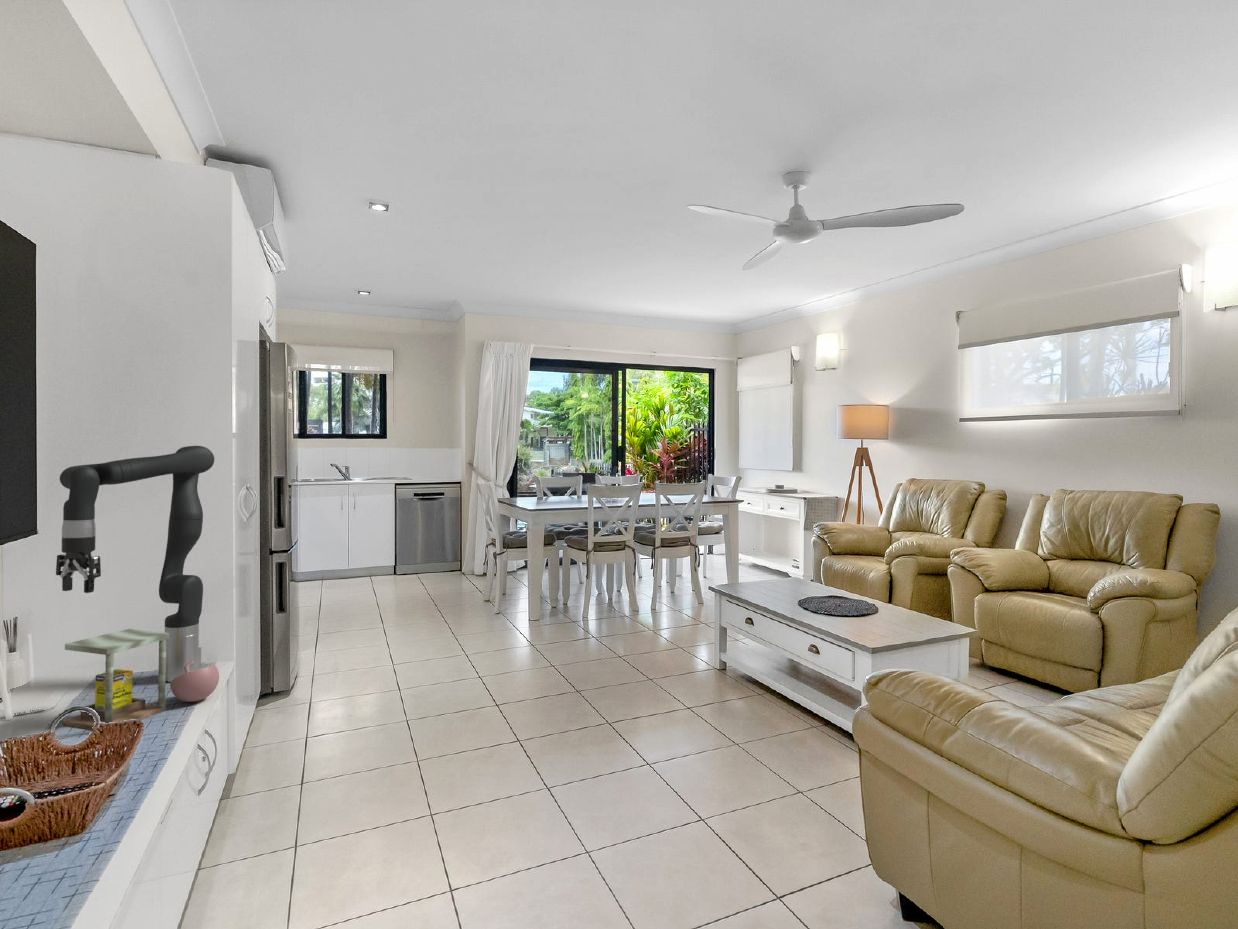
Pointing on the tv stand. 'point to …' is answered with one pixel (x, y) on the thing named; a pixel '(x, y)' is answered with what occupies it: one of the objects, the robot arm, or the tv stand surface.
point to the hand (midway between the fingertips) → (77, 591)
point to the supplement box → (114, 689)
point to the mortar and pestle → (195, 683)
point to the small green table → (108, 647)
